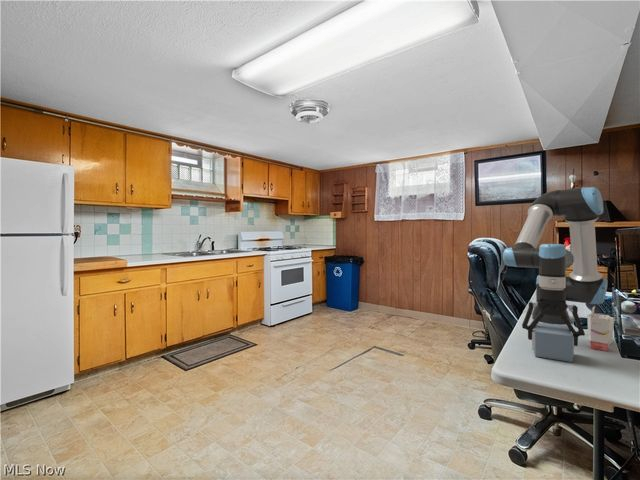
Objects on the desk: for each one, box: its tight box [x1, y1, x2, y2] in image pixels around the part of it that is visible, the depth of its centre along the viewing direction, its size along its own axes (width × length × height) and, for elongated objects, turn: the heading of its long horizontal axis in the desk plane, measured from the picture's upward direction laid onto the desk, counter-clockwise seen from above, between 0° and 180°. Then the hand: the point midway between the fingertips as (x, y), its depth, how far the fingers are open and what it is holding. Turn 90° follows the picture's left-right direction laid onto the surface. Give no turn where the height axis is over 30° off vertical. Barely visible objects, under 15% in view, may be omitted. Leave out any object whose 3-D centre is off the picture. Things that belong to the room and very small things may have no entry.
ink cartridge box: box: [590, 305, 611, 352], centre depth 119 cm, size 9×5×15 cm, turn 134°
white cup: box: [586, 313, 615, 345], centre depth 125 cm, size 8×8×10 cm
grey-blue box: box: [533, 321, 574, 363], centre depth 111 cm, size 10×10×9 cm
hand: (551, 351), depth 111 cm, fingers closed on grey-blue box, 10 cm apart
